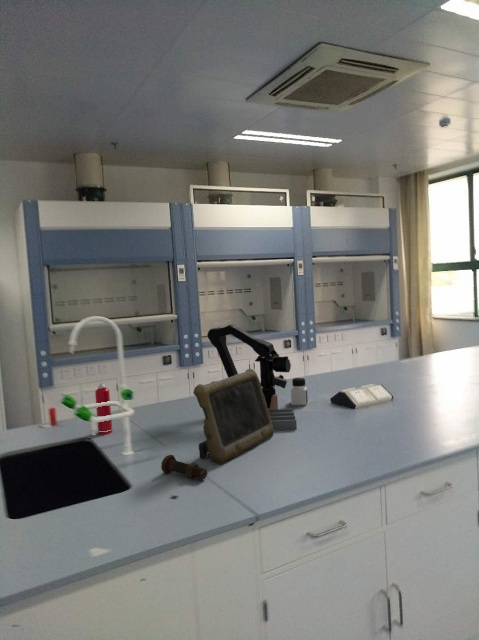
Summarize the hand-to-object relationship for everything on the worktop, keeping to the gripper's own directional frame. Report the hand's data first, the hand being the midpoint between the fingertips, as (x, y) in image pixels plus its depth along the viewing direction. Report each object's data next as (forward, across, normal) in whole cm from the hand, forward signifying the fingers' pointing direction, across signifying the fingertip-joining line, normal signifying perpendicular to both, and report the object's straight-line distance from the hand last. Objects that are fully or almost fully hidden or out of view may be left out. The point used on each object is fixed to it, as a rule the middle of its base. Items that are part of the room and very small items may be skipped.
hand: (268, 406), depth 196 cm
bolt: (+4, -63, +27) cm, 69 cm away
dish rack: (+3, -15, -3) cm, 16 cm away
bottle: (+3, -17, +67) cm, 69 cm away
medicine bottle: (+3, +15, -15) cm, 21 cm away
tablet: (+3, -40, +12) cm, 42 cm away
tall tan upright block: (+3, 0, 0) cm, 3 cm away
